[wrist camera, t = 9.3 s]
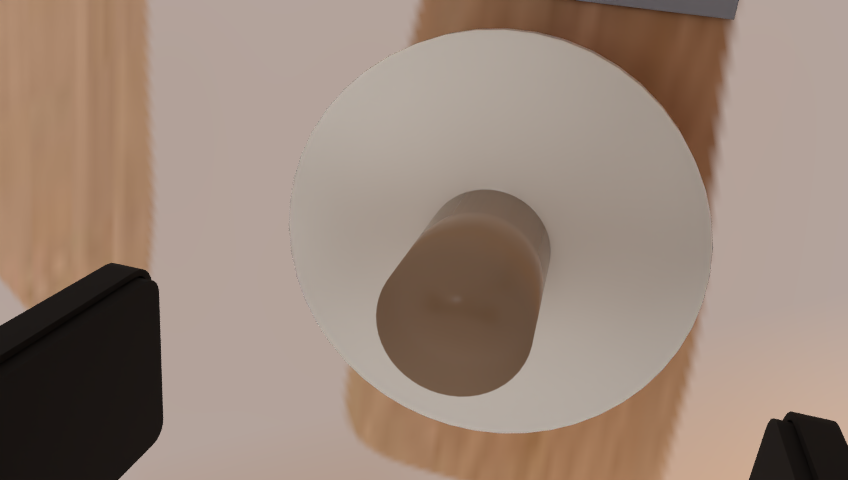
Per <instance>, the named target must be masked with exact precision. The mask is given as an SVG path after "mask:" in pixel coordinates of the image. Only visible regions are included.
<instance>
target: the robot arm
mask: <svg viewBox="0 0 848 480" xmlns="http://www.w3.org/2000/svg"><path fill="white" fill-rule="evenodd" d="M161 371H162V370H161V340H160V310H159V289H158V286H157V284H156V283H155V282H154V281H152V280H151V277H150V275H149V273H148V272H147V271H146V270H143V269H138V268H134V267H129V266H125V265H120V264H115V263H110V264H107V265H105V266H103V267H101V268H100V269H98V270H96V271H94V272H93V273H91V274H89V275H87V276H86V277H84V278H82V279H81V280H79V281H77V282H75V283H74V284H72V285H70V286H68V287H67V288H65V289H63V290H61V291H60V292H58V293H56V294H55V295H53V296H51V297H49V298H48V299H46V300H44V301H42V302H41V303H39V304H37V305H35V306H34V307H32V308H30V309H29V310H27V311H25V312H23V313H22V314H20V315H18V316H16V317H15V318H13V319H11V320H9V321H8V322H6V323H4V324H3V325H1V326H0V480H118V479H119V478H120V477H121V476H122V475H123V474H124V473H125V472H126V471H127V470H128V469H129V468H130V467H131V466H132V465H133V464H134V463H135V462H136V461H137V460H138V459H139V458H140V457H141V456H142V455H143V454H144V453H145V452H146V451H147V450H148V449H149V448H150V447H151V446H152V445H153V444H154V443H155V441H156V440H157V438H158V437H159V435H160V432H161V429H162V425H163V405H162V404H163V402H162V372H161ZM749 480H848V445H847V443H846V441H845V439H844V436H843V434H842V432H841V430H840V427H839V426H838V424H837V423H836V422H835V421H831V420H827V419H822V418H817V417H813V416H809V415H804V414H800V413H795V412H789V413H787V414H786V416H785V417H784V419H783V421H782V420H778V419H771V420H770V421H769V423H768V425H767V427H766V430H765V433H764V436H763V439H762V442H761V445H760V448H759V451H758V454H757V457H756V460H755V463H754V466H753V469H752V472H751V475H750V478H749Z"/></svg>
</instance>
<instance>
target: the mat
mask: <svg viewBox="0 0 848 480" xmlns="http://www.w3.org/2000/svg"><path fill="white" fill-rule="evenodd" d="M578 1H586V2H594V3H602V4H611V5H619V6H627V7H635V8H643V9H651V10H660V11H668V12H676V13H684V14H692V15H700V16H708V17H717V18H725V19H733V20H734V17H735V13H736V9H737V5H738V1H739V0H578Z"/></svg>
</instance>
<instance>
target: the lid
mask: <svg viewBox="0 0 848 480" xmlns="http://www.w3.org/2000/svg"><path fill="white" fill-rule="evenodd" d="M289 220H290V221H289V231H290V241H291V252H292V257H293V261H294V265H295V270H296V275H297V278H298V281H299V284H300V286H301V289H302V292H303V295H304V298H305V300H306V302H307V304H308V306H309V308H310V310H311V312H312V314H313V316H314V318H315V320H316V322H317V324H318V325H319V327H320V328H321V330H322V331H323V333H324V334H325V336H326V337H327V339H328V341H329V342H330V343H331V344H332V346H333V347H334V348H335V349H336V350H337V352H338V353H339V354H340V355H341V357H342V358H343V359H344V360H345V361H346V362H347V363H348V364H349V365H350V366H351V367H352V368H353V369H354V370H355V371H356V372H357V373H358V374H359V375H360V376H361V377H362V378H363V379H365V380H366V381H367V382H369V383H370V384H371V385H372V386H374V387H375V388H376V389H378V390H379V391H380V392H382V393H383V394H385V395H386V396H388V397H389V398H391V399H393V400H394V401H396V402H398V403H399V404H401V405H403V406H404V407H406V408H409V409H411V410H413V411H415V412H417V413H419V414H421V415H424V416H426V417H428V418H431V419H434V420H437V421H440V422H443V423H446V424H449V425H452V426H457V427H461V428H466V429H470V430H475V431H484V432H494V433H530V432H538V431H546V430H553V429H557V428H561V427H565V426H569V425H573V424H577V423H579V422H582V421H585V420H587V419H590V418H592V417H595V416H598V415H600V414H602V413H604V412H606V411H608V410H610V409H611V408H613V407H615V406H617V405H619V404H621V403H623V402H624V401H625V400H627V399H628V398H630V397H631V396H632V395H634V394H635V393H637V392H638V391H640V390H641V389H642V388H644V387H645V386H646V385H647V384H648V383H649V382H650V381H651V380H652V379H653V378H654V377H655V376H656V375H658V374H659V373H660V372H661V371H662V370H663V369H664V367H665V366H666V365H667V364H668V362H669V361H670V360H671V359H672V358H673V356H674V355H675V354H676V353H677V351H678V350H679V349H680V347H681V345H682V344H683V342H684V340H685V339H686V337H687V335H688V334H689V332H690V330H691V329H692V327H693V325H694V322H695V320H696V318H697V315H698V313H699V310H700V308H701V306H702V303H703V300H704V296H705V292H706V289H707V285H708V281H709V277H710V269H711V260H712V250H713V242H712V220H711V214H710V209H709V204H708V199H707V194H706V190H705V187H704V184H703V181H702V178H701V175H700V173H699V170H698V167H697V164H696V162H695V159H694V157H693V155H692V153H691V151H690V149H689V147H688V145H687V144H686V142H685V140H684V138H683V136H682V134H681V132H680V130H679V128H678V127H677V125H676V124H675V123H674V121H673V120H672V119H671V117H670V116H669V114H668V113H667V112H666V110H665V109H664V107H663V106H662V105H661V104H660V103H659V102H658V101H657V99H656V98H655V97H654V96H653V95H652V94H651V93H650V92H649V91H648V90H647V89H646V88H645V87H644V86H643V85H642V84H641V83H640V82H639V81H637V80H636V79H635V78H634V77H632V76H631V75H630V74H628V73H627V72H626V71H625V70H623V69H622V68H621V67H620V66H618V65H617V64H615V63H613V62H611V61H610V60H608V59H606V58H605V57H603V56H601V55H599V54H598V53H596V52H594V51H593V50H590V49H588V48H585V47H583V46H581V45H578V44H576V43H573V42H571V41H569V40H566V39H563V38H559V37H555V36H551V35H548V34H544V33H540V32H536V31H527V30H519V29H511V28H485V29H473V30H466V31H460V32H454V33H449V34H446V35H442V36H439V37H436V38H432V39H429V40H426V41H422V42H419V43H417V44H414V45H412V46H409V47H407V48H405V49H403V50H401V51H399V52H396V53H394V54H392V55H390V56H388V57H386V58H385V59H383V60H382V61H380V62H379V63H377V64H375V65H374V66H372V67H371V68H369V69H368V70H366V71H365V72H364V73H362V74H361V75H360V76H359V77H358V78H357V79H355V80H354V81H353V82H352V83H351V84H350V85H348V87H346V88H345V89H344V90H343V91H342V93H341V94H340V95H339V96H338V97H337V98H336V99H335V100H334V101H333V103H332V104H331V105H330V106H329V107H328V108H327V110H326V111H325V113H324V114H323V116H322V117H321V119H320V121H319V122H318V123H317V125H316V127H315V128H314V130H313V131H312V134H311V136H310V138H309V140H308V142H307V144H306V146H305V148H304V151H303V153H302V155H301V158H300V161H299V165H298V168H297V171H296V175H295V178H294V184H293V189H292V195H291V200H290V219H289Z"/></svg>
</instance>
